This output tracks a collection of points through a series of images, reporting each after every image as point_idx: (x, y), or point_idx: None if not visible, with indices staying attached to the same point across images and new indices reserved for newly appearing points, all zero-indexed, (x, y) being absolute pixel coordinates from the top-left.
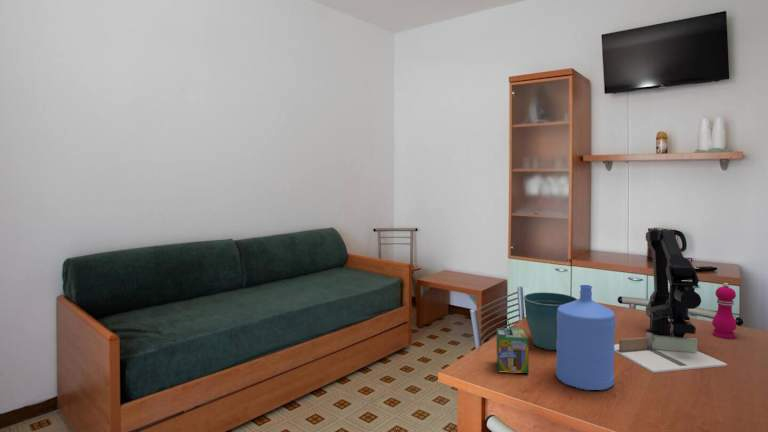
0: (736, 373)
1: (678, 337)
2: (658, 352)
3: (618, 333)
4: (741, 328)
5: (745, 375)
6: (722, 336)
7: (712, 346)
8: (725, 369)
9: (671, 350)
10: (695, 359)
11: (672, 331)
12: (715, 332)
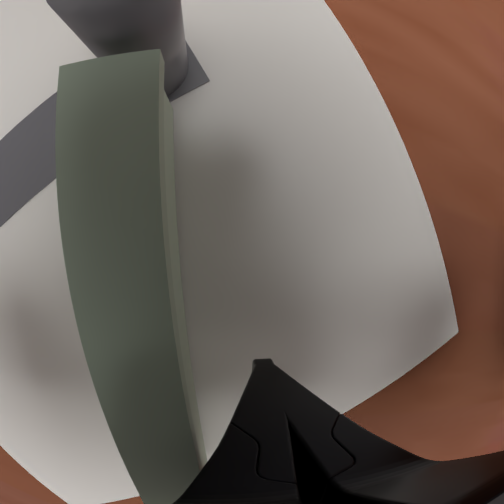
0: (7, 485)
1: (165, 459)
2: (53, 147)
3: (496, 11)
4: None
5: (11, 498)
6: None
7: None
8: (22, 475)
9: None
10: (36, 410)
11: (285, 459)
12: None
